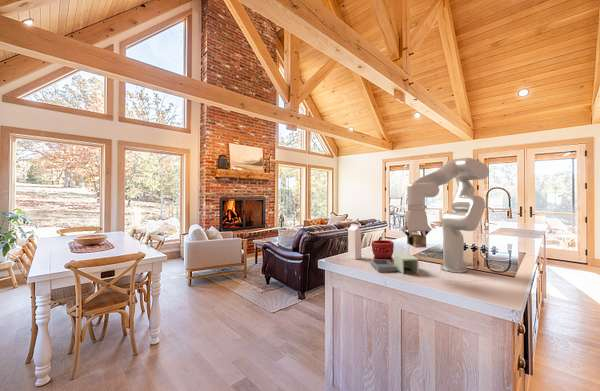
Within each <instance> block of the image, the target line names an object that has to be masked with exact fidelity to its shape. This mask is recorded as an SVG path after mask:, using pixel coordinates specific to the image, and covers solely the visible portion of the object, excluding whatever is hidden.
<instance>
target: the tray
mask: <svg viewBox="0 0 600 391" xmlns="http://www.w3.org/2000/svg"><path fill="white" fill-rule="evenodd" d="M370 265H371V267H373V268H374V270H375V271H376V272H378V273H397V272H398V270H397V266H395V265H394V262H392V261H389V260H387V259H385V260H375V259H370Z"/></svg>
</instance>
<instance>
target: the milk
mask: <svg viewBox="0 0 600 391" xmlns="http://www.w3.org/2000/svg"><path fill="white" fill-rule="evenodd" d="M347 244H348V245H347V247H348V249H347V253H348V255H347V256H348V257H347V258H349V259H351V260H358V259H362V229H361V228H360V227H359V225H358V224H354V223H351V224H350V226H349V227H348V229H347Z"/></svg>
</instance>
